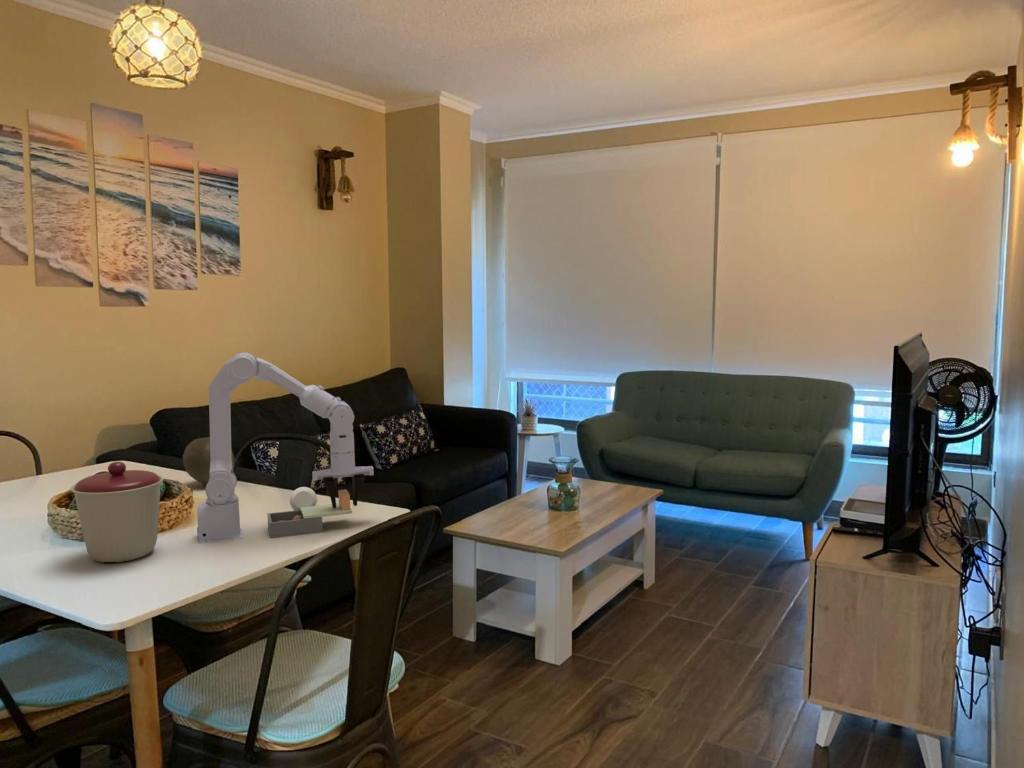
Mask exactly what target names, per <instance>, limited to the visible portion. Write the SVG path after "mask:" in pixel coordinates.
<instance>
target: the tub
mask: <svg viewBox="0 0 1024 768" xmlns="http://www.w3.org/2000/svg"><path fill="white" fill-rule="evenodd" d="M297 515H301V516H303V515H302V513H301V510H287V511H277V512H269V513H267V516H266V517H267V530H268V533H269V534H268V535H269V539H274V538H283V537H290V536H302V535H307V534H308V535H309V534H317V533H318V534H319V533H323V531H324V530H323V517H316V518H307V519H298V520H293V518H294V517H295V516H297ZM281 520H284V521H281ZM279 521H280V522H279Z"/></svg>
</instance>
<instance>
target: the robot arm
mask: <svg viewBox="0 0 1024 768" xmlns="http://www.w3.org/2000/svg"><path fill="white" fill-rule="evenodd" d="M255 376H257V377H256V381H257V382H258V381H262V382H263V381H264V382H265V381H269V382H271V383H273V384H275V385H277V386H279V387H281V389H284V390H286V391H288V392H289V393H291V394H293V395H295V396H296V397H297V398H299V402H300V405H301V407H302V406H303V407H304V408H306V409H307V410H309V411H310V412H313V413H314V414H315V415H316V416H319V417H321V418H323V419H328V420H329V422H330V433H329V445H330V446H329V448H330V468H327V469H325V468H324V469H321V470H313V471H312V480H313V481H315V482H317V481H318V480H321V481H323V483H324V485H325V487H326V490H327V492H328V494H329V497H330V501H331V504H332V507H333V508H336V504H337V501H336V499H337V498H336V481H335V479H340V478H349V477H351V481H352V505H353V506H354V507H357V506H358V501H359V495H360V492H361V489H362V487H363V485H364V482H365V476H374V475H375V474H374V473H375V472H374V467H373V466H372V465H368V466H356V462H355V460H356V459H355V457H356V456H355V455H356V454H355V436H354V435H355V434H354V431H353V430H354V425H353V423H354V421H355V414H354V411H353V410H352V408H351V406H350V405H349V403H346V401H344V400H342V399H341V397H339V396H336V397H335V396H334V395H332V394H331V393H329V392H327V391H325V386H324V387H323V386H322V385H315V384H309V385H305V384H304V383H302V382H300V381H299V380H298V379H296V378H295V377H292V376H291V375H289V374H288V373H287V372H286V371H284V370H282V369H281V368H279V367H277V366H276V365H274V363H273V364H272V363H271V362H269V361H266V360H265V359H263V358H260V357H256V356H255V355H253V354H252V353H250V352H247V351H244V352H243V351H242V352H238V353H236V354H235V355H233V356H232V357H231V358H229V359H228V360H226V362H225V363H224V364H222V367H221V369H220V370H219V371H218V372H217V374H215V376H214V378H213V379H212V381H211V382H210V384H209V387H208V405H209V406H208V409H209V413H208V414H209V437H210V460H211V462H210V478H209V481H208V483H207V485H205V491H204V492H205V495H206V498H205V501H204V502H199V503H197V504H196V513H197V527H196V533H197V535H198V543H199V544H204V543H214V542H223V541H231V540H239V539H243V529H242V528H241V517H240V501H239V500H240V499H239V498H240V497H239V496H238V495H237V494H236V493H235V492H236V491H235V490H236V489H235V488H236V487H237V483H238V482H237V481H238V478H237V476H236V475H235V473H234V468H233V469H232V458H231V450H232V419H231V418H232V417H231V414H232V413H231V393H232V392H234V391H235V390H236V389H237V388H238V387H239V386H240V385H242V384H246V383H247V382H249V381H251V380H252V379H253V378H255Z"/></svg>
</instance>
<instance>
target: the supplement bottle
mask: <svg viewBox="0 0 1024 768" xmlns="http://www.w3.org/2000/svg"><path fill="white" fill-rule="evenodd" d="M317 502H318V498H317V494H316V492H315V491H314V490H313V489H312V488H310V487H307V486H299V487H298V488H295V489H294V490H293V491H292V492H291V495H290V497H289V504H290V505H289V506H290V507H291V508H292V509H293V510H292V511H295V510H300V508H301V507H310V506H317Z"/></svg>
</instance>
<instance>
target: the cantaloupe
mask: <svg viewBox="0 0 1024 768" xmlns="http://www.w3.org/2000/svg"><path fill="white" fill-rule="evenodd" d="M231 458H232V469H233V470H234V467H235V456H234V453H233V451H232V449H231ZM210 462H211V460H210V436H207V437H201V438H196V439H193V440H192V441H191V442H190V443H189V444H188V445H187V446H186V447H185V449H184V452H183V454H182V463H183V464H182V465H183V467H184V470H185V472H186V473H187V475H189V476H190V477H191V478H192V479H194V480H195V481H196V482H198V483H200V484H203V485H205V486H206V485H207V483H208V481H209V478H210Z"/></svg>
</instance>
